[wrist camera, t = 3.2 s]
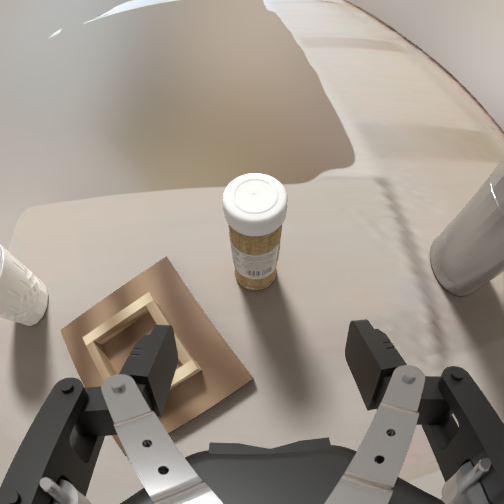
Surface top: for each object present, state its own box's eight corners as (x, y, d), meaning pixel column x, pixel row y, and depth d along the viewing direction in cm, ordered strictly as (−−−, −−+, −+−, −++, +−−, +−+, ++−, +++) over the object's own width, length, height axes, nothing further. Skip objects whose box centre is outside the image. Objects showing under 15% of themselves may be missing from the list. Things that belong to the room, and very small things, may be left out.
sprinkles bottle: (277, 256, 32) (290, 174, 20) (273, 294, 30) (286, 226, 18) (237, 251, 32) (228, 167, 20) (230, 289, 30) (215, 218, 18)
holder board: (169, 260, 32) (161, 247, 29) (253, 378, 26) (253, 377, 23) (65, 332, 28) (50, 325, 25) (130, 454, 22) (117, 459, 19)
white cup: (39, 265, 32) (-4, 229, 23) (60, 304, 29) (10, 271, 20) (9, 301, 29) (-37, 273, 20) (26, 342, 27) (-26, 320, 18)
